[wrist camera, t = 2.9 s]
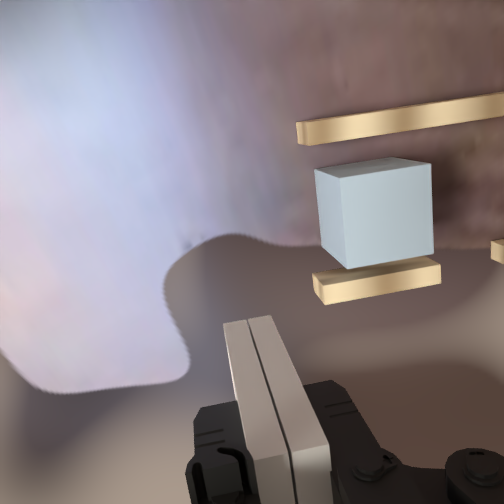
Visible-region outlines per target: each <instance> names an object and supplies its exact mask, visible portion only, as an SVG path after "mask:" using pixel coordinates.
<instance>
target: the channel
mask: <svg viewBox="0 0 504 504" xmlns="http://www.w3.org/2000/svg"><path fill="white" fill-rule="evenodd" d="M500 116H504V92H498V93H491V94H484V95H478V96H471V97H464V98H457V99H451V100H444V101H437V102H430V103H424V104H417V105H410V106H403V107H397V108H390V109H383V110H376V111H369V112H363V113H356V114H349V115H342V116H336V117H329V118H322V119H315V120H309V121H302V122H296V127H297V136H298V144H303V145H308V146H310V145H317V144H323V143H330V142H336V141H343V140H349V139H356V138H362V137H369V136H376V135H382V134H389V133H395V132H402V131H408V130H415V129H421V128H428V127H434V126H441V125H447V124H454V123H460V122H467V121H474V120H480V119H487V118H493V117H500ZM491 259H493V260H495V261H498V262H500V263H502V264H504V239H500V240H494V241H491ZM312 275H313V284H314V291H315V293H316V294H317V295H318V297H319V298H320V299H321V300H322V302H323V303H324V304H325V305H328V304H333V303H338V302H344V301H349V300H354V299H360V298H365V297H371V296H376V295H381V294H386V293H392V292H397V291H402V290H408V289H413V288H419V287H424V286H429V285H435V284H440V283H441V266H440V264H439V263H437V262H435V261H433V260H431V259H430V258H428V257H426V256H425V255H424V256H418V257H413V258H407V259H401V260H396V261H390V262H385V263H379V264H374V265H368V266H363V267H357V268H351V269H346V268H345V267H344V268H339V269H333V270H328V271H322V272H317V273H312Z"/></svg>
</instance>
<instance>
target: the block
mask: <svg viewBox="0 0 504 504" xmlns="http://www.w3.org/2000/svg"><path fill="white" fill-rule="evenodd" d="M314 171H315V181H316V191H317V201H318V211H319V221H320V231H321V241H322V247H323V248H324V249H326V251H328V252H329V253H330V254H331V255H332V256H333V257H334V258H335V259H337V260H338V261H339V262H340V263H341V264H342V265H343V266H344V267H345V268H346V269H351V268H357V267H363V266H368V265H374V264H379V263H385V262H390V261H396V260H401V259H407V258H413V257H418V256H424V255H429V254H434V245H433V213H432V181H431V163H425V162H419V161H413V160H407V159H401V158H396V157H388V158H381V159H375V160H369V161H362V162H356V163H350V164H343V165H337V166H331V167H324V168H318V169H314Z"/></svg>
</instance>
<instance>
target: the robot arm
mask: <svg viewBox="0 0 504 504" xmlns="http://www.w3.org/2000/svg"><path fill="white" fill-rule="evenodd" d="M248 324H249V328H248V325H247V322H246V320H240V321H235V322H230V323H224V324H223V327H224V333H225V338H226V345H227V351H228V356H229V363H230V368H231V374H232V380H233V386H234V392H235V397H236V401H232V402H227V403H222V404H217V405H212V406H207V407H202V408H200V410H199V412H198V414H197V416H196V418H195V419H194V447H195V455H194V457H193V458H192V459H191V460H190V461H189V463H188V464H187V468H186V472H185V475H186V480H187V485H188V490H189V494H190V499H191V503H192V504H504V457H503V456H501V455H500V454H498V453H496V452H492V451H489V450H485V449H478V448H467V449H463V450H459V451H456V452H454V453H453V454H452V455H451V456H449V457H448V459H447V462H446V464H445V469H431V468H430V469H429V468H417V467H411V466H407V465H403V464H402V463H401V461H400V460H399V459H398V458H397V457H396V456H395V455H394V454H393V453H391V452H389V451H387V450H385V449H383V448H381V447H380V445H379V444H378V442H377V440H376V439H375V437H374V436H373V434H372V432H371V431H370V429H369V427H368V426H367V424H366V423H365V421H364V419H363V418H362V416H361V414H360V413H359V412H358V409H357V408H356V406H355V404H354V403H353V402H352V399H351V398H350V396H349V394H348V393H347V391H346V390H345V388H343V387H342V386H340V385H339V384H337V383H336V382H334V381H332V380H328V381H323V382H318V383H314V384H309V385H304V386H302V383H301V381H300V379H299V377H298V375H297V372H296V370H295V368H294V366H293V364H292V362H291V359H290V357H289V355H288V353H287V350H286V348H285V346H284V344H283V342H282V339H281V337H280V335H279V333H278V331H277V328H276V326H275V324H274V322H273V320H272V317H271V315H268V316H262V317H257V318H251V319H248ZM249 330H250V331H249Z"/></svg>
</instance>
